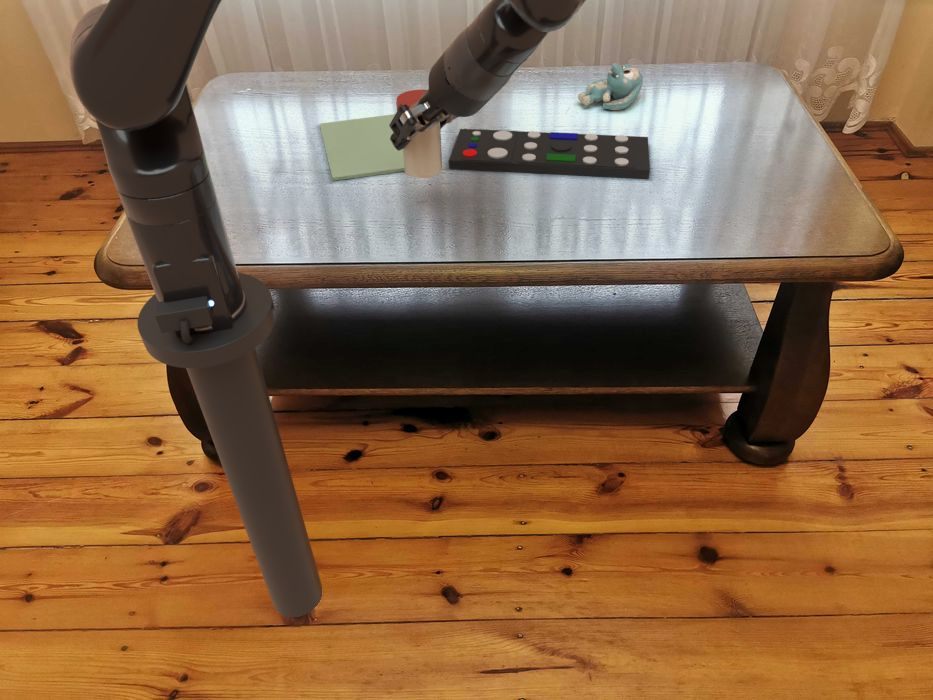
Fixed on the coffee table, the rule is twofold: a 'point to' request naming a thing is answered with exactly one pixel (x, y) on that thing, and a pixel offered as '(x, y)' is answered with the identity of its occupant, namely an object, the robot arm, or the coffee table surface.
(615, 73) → the stuffed animal
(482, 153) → the remote control
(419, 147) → the beige jar
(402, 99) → the red lid
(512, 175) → the coffee table surface
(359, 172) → the felt mat
